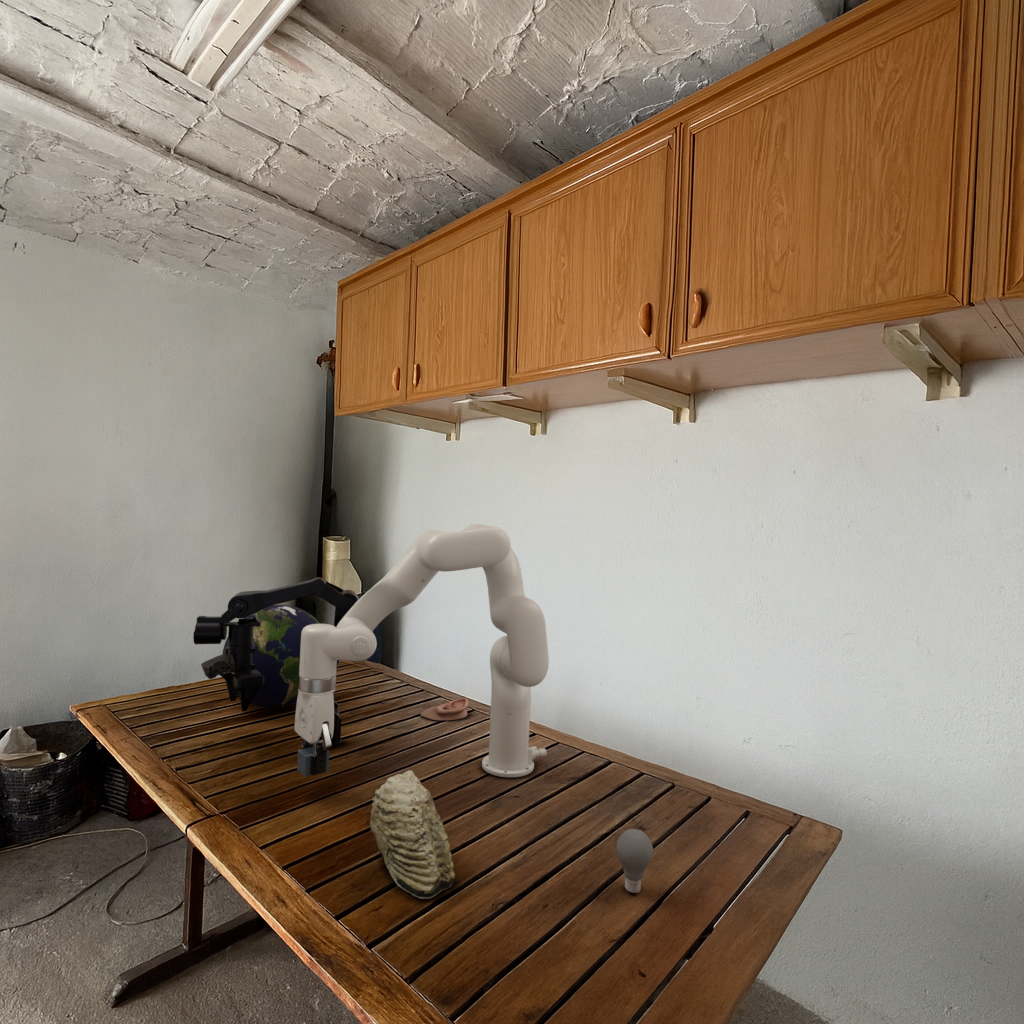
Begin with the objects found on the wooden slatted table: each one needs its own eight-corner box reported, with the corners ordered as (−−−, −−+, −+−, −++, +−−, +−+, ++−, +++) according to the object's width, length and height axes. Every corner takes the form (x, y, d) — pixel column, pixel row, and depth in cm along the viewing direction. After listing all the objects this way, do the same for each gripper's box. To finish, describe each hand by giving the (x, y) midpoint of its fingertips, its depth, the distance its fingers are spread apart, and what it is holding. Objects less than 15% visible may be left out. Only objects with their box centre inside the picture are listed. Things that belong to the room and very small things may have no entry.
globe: (289, 685, 209) (292, 594, 208) (348, 705, 191) (352, 606, 191) (199, 706, 185) (203, 604, 184) (258, 732, 167) (262, 619, 167)
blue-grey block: (296, 769, 134) (297, 750, 134) (320, 764, 137) (321, 745, 137) (304, 776, 131) (305, 756, 131) (328, 771, 134) (329, 751, 134)
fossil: (399, 838, 118) (402, 759, 118) (464, 883, 106) (468, 794, 105) (357, 856, 112) (361, 772, 112) (421, 906, 99) (425, 811, 99)
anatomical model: (416, 704, 183) (430, 693, 194) (416, 718, 183) (429, 705, 194) (461, 709, 180) (471, 697, 192) (460, 723, 180) (471, 710, 192)
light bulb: (610, 879, 108) (613, 822, 108) (644, 879, 109) (647, 822, 109) (619, 902, 102) (622, 840, 102) (655, 901, 103) (658, 840, 103)
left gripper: (195, 639, 159) (193, 701, 159) (216, 655, 144) (214, 723, 145) (241, 635, 166) (239, 694, 166) (266, 650, 151) (263, 714, 152)
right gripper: (285, 676, 138) (281, 759, 138) (316, 697, 125) (311, 788, 125) (318, 671, 143) (314, 752, 143) (351, 691, 130) (347, 779, 130)
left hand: (238, 706), depth 157 cm, fingers open, 9 cm apart
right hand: (313, 768), depth 134 cm, fingers closed on blue-grey block, 4 cm apart
